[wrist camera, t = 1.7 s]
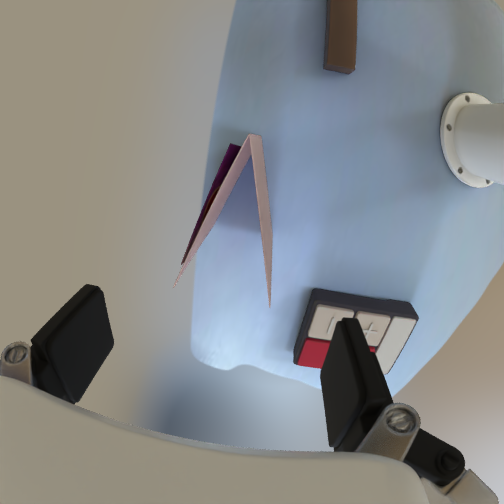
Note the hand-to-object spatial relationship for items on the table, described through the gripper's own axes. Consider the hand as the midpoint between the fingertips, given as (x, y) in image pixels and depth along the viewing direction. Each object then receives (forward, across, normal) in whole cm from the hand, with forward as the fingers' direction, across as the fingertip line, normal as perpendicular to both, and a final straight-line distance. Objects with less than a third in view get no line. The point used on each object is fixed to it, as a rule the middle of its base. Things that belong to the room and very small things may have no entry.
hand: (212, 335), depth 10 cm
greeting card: (+23, -1, -1) cm, 23 cm away
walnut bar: (+23, -8, -22) cm, 33 cm away
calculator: (+23, -16, +16) cm, 32 cm away
